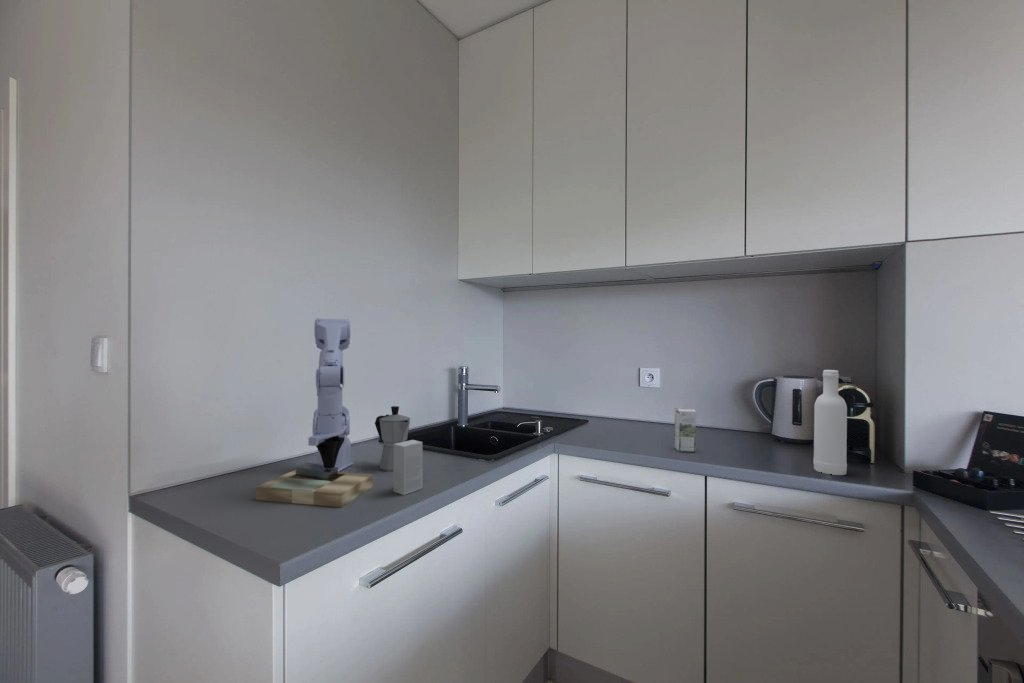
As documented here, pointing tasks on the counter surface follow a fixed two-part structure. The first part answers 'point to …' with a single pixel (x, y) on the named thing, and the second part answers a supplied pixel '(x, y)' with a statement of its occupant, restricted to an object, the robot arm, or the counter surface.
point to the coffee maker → (391, 435)
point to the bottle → (830, 428)
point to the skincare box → (408, 466)
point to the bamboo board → (315, 489)
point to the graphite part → (316, 471)
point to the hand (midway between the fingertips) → (329, 467)
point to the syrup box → (685, 430)
